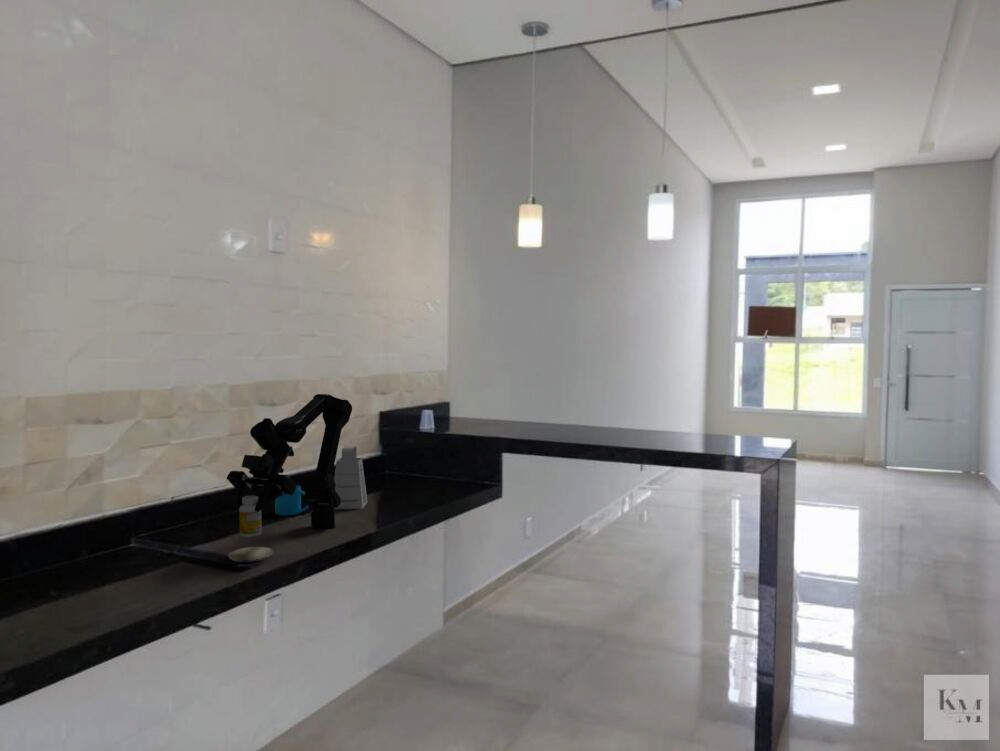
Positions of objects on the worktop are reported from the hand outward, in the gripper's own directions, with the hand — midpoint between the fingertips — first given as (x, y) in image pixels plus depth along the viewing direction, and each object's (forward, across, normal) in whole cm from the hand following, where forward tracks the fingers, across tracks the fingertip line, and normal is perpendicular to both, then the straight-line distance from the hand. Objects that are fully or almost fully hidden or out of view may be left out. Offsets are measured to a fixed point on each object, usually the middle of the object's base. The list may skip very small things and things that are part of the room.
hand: (246, 509), depth 187 cm
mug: (-23, -19, +42) cm, 51 cm away
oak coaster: (+8, 0, +10) cm, 13 cm away
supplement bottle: (+4, 0, +6) cm, 7 cm away
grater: (-34, -8, +53) cm, 63 cm away
